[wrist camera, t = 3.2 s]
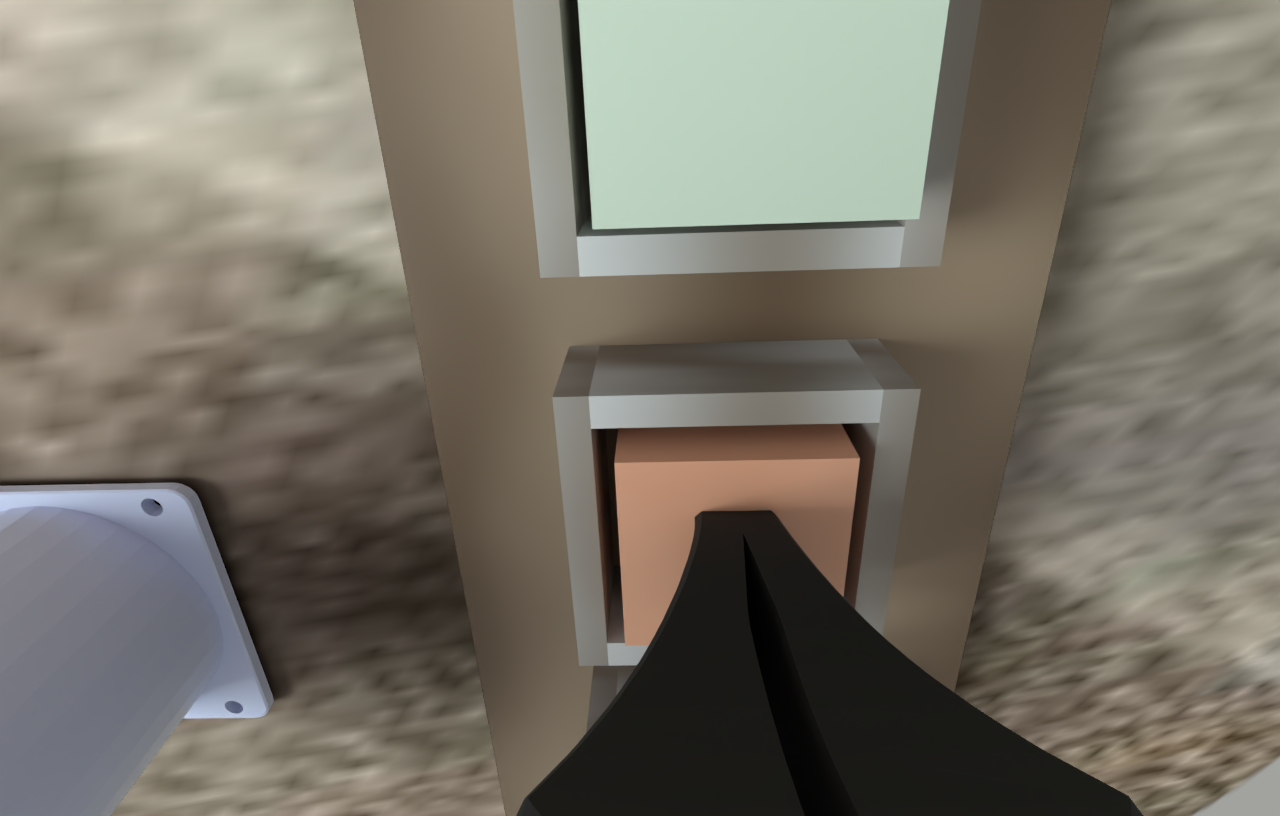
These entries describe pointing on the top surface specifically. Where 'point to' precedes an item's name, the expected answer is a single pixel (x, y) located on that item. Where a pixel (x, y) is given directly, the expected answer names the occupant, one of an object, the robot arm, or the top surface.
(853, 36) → the sage button
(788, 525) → the terracotta button
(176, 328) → the top surface
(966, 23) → the button board
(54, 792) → the robot arm
